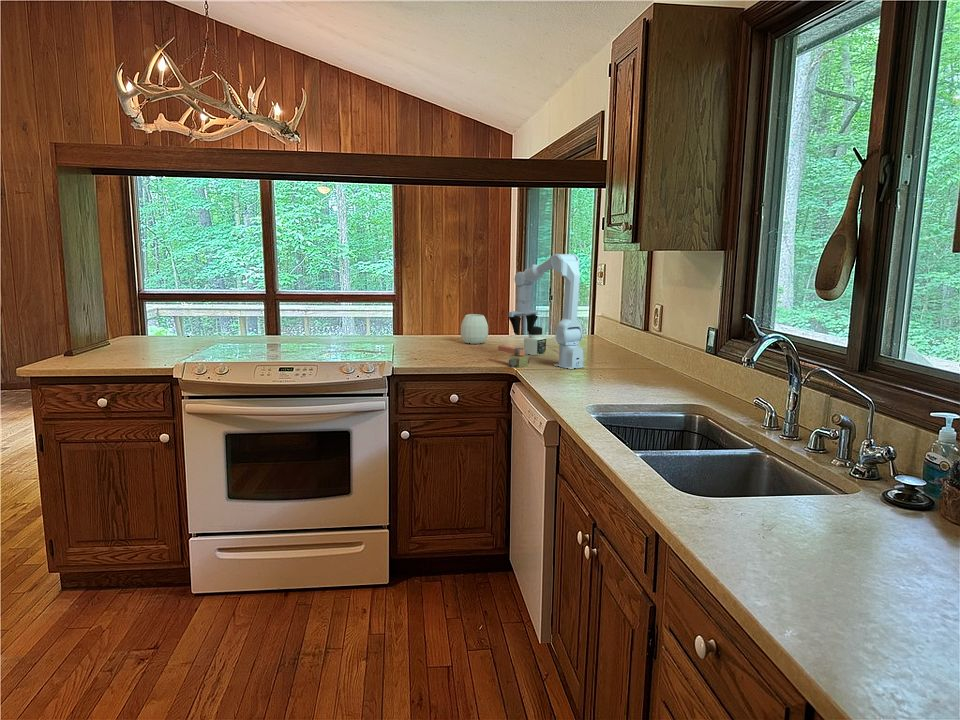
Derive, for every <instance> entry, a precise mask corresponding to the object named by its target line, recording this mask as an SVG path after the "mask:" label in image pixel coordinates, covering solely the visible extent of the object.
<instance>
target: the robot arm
mask: <svg viewBox="0 0 960 720" xmlns="http://www.w3.org/2000/svg"><path fill="white" fill-rule="evenodd" d="M580 262H581V259H580V258H579V257H578V256H577V255H576V253H575V254H574V253H567V254H566V253H554V254H553V255H551V256H550V257H549V258H547V260H545V261H543V262H542V263H541V264H531V265H530V266H531V267H529V268H526V269H524V271H523V272H522V271H517V272H516V274H515V275H514V283H515V285H516V310H514V311H513V310H512V311H508V320H509V321H510V323H511V326H512V330H513V333H514V334H516V335H518V334H519V331H520V324H521V323H520V322H521V320H522V318H521V317H525V318H526V326H527V327H526V330H527V333H528V332H530V333H531V332H532V330H533V326H535V323H536V322H537V320H538V319H539V318H538V317H539V316H538V314H539V311H538V310H534V309H533V310H532V309H531V297H532V296H531V295H532V294H531V293H532V292H531V291H532V289H533V285H534V282H536V281H537V280H540V279H541V278H543V276H544V273H546V272H549V271H551V270H554V271H555V272H557V273H558V274H559V275H561V276H562V277H563V278H564V280H565V282H564V294H563V309H562V319H561V320H560V321H559V323H557V329H556V331H555V333H554V335H555V340H556V342H557V345H559V347H558V363H555V364H553V366H555V367H558V366H559V367H558V368H563V369H567V368H568V369H567V370H575V369H574V368H576V369H582V368H585V367H586V366H584V349H583V348H582V347H581V346H580V342H581V341H582V340H583V335H584V334H583V330H582V323H580V321H579V320H578V309H579V308H578V306H579V294H580V283H581V282H580V280H581V272H580V265H581V263H580Z"/></svg>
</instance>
